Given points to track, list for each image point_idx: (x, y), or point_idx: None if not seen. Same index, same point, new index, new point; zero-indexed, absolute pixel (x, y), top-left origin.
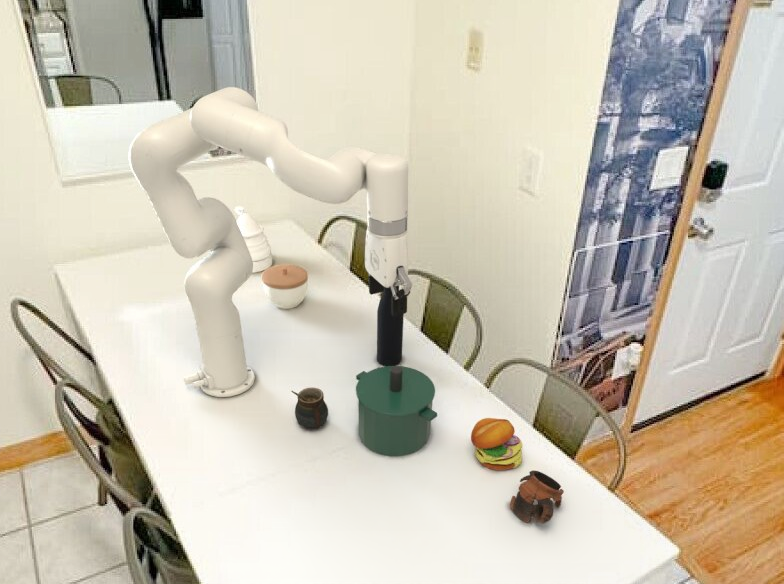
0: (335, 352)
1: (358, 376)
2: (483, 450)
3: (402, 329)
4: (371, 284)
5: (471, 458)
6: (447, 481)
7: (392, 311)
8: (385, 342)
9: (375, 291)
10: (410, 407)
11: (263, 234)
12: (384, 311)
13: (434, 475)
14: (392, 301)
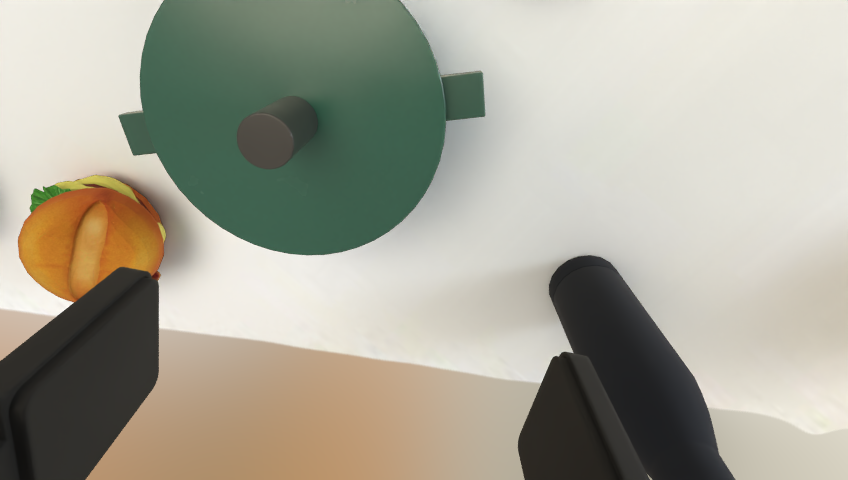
0: (731, 198)
1: (470, 74)
2: (68, 189)
3: None
4: (584, 434)
5: (142, 175)
6: (96, 66)
7: (100, 288)
8: (595, 302)
9: (545, 399)
10: (167, 85)
11: None
12: (649, 380)
13: (132, 55)
14: (4, 363)
